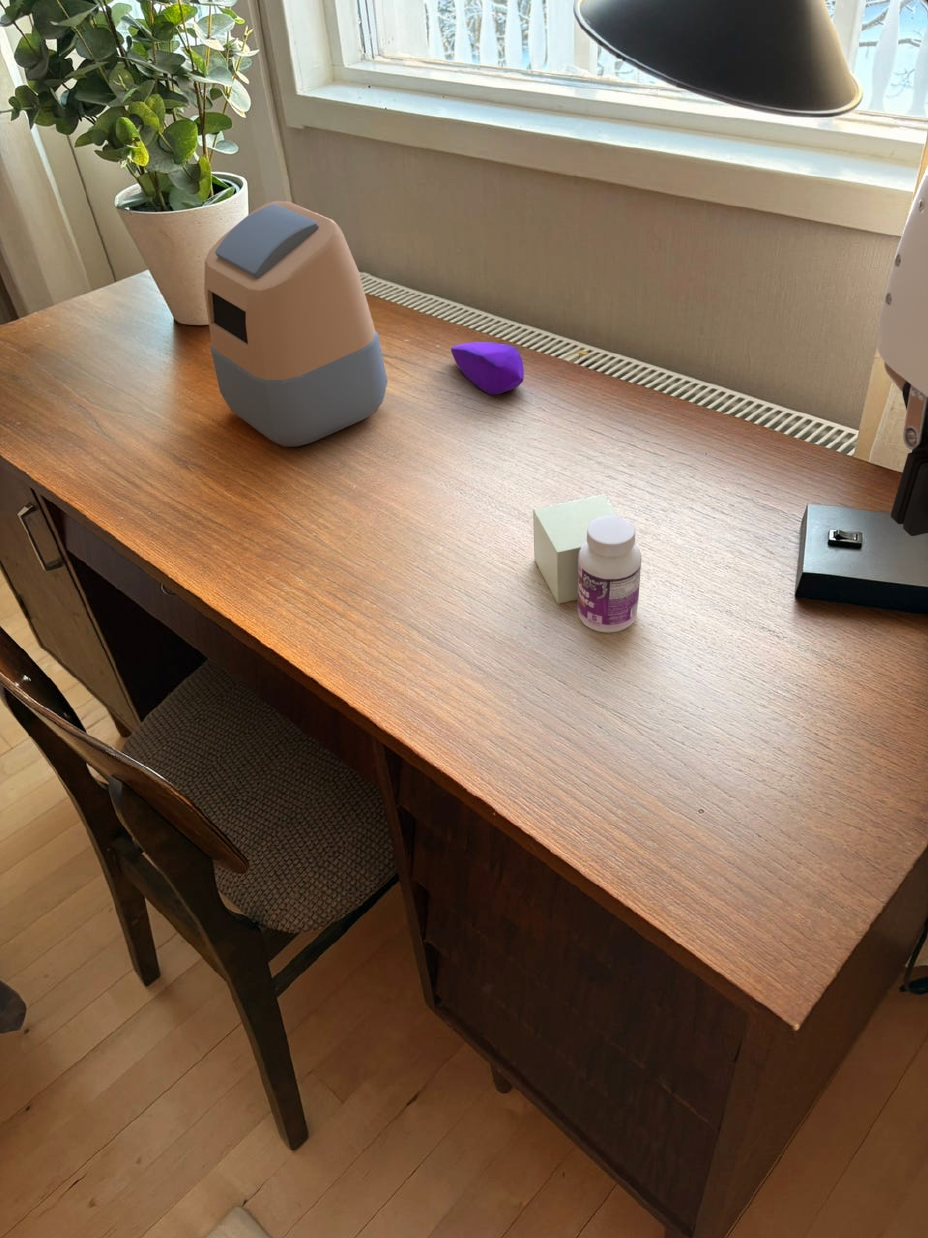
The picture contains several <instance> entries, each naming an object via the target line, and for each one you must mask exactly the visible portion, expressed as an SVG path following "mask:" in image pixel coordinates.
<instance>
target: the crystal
mask: <svg viewBox="0 0 928 1238" xmlns="http://www.w3.org/2000/svg"><path fill="white" fill-rule="evenodd" d="M450 352H451V355H452V357H453V359H454V361H455V363H456V365H457V367H458V368H459V370H460V371H461V372H462V373H463V374H464V376H465V377H466V378H467V379H468V381H470V382H471V383H472V384H473V385H475V386H476V387H477V388H479V389H481V390H482V391H484V392H486V393H488V394H489V395H492V396H493V395H500V394H502V393H505V392H508V391H509V392H510V391H511V390H513V389H515V388H517V387H519V386H520V385H522V383H524V378H525V368H524V361H523V358H522V356H521V354H520V352H519V350H518V348H516V347H514V346H512V345H510V344H505V343H504V344H503V343H497V342H492V341H491V342H490V341H480V342H479V341H478V342H477V341H476V342H466V343H460V344H457V345H454V346H452V347H451V348H450Z"/></svg>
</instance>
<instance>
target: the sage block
mask: <svg viewBox="0 0 928 1238" xmlns="http://www.w3.org/2000/svg"><path fill="white" fill-rule="evenodd" d="M603 516H618V517H620V516H619V514H618V513H617V511H616V510H615V508H614V507H613V506H612V504H611V503H610V500H608V498H607V496H606V495H605V493H601V494H597V495H592V496H587V497H583V498H578V499H573V500H569V501H565V502H560V503H555V504H550V505H546V506H541V507H536V508H533V509H532V519H533V520H532V524H533V525H532V527H533V528H532V529H533V559H534V562H535V564H536V566H537V567H538V569H539V571H540V574H541V576H542V577H543V579H544V581H545V583H546V585H547V587H548V589H549V590H550V592H551V594H552V596H553V598H554V600H555V602H556V604H557V605H560V604H564V603H567V602H573V601H576V600H577V601H578V559H579V552H580V549H581V547H582V545H583V544H584V543H585V542H586V541H587V529H588V526H589V524H590V523H591V522H592V521H593V520H595V519H597V518H599V517H603Z"/></svg>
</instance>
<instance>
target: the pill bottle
mask: <svg viewBox="0 0 928 1238" xmlns="http://www.w3.org/2000/svg"><path fill="white" fill-rule="evenodd" d="M618 516H619V515H618ZM618 516H603V517H599V518H597V519H595V520H593V521H592V522H591V523H590V524H589V526H588V529H587V541H586V542H585V543H584V544H583V545H582V547H581V549H580V552H579V559H578V599H577V614H578V617H579V619H580V621H581V622H582V623H583V625H585V626H586V627H587V628H589V629H591V630H593V631H595V632H599V633H609V634H610V633H617V632H620V631H623V630H625V629H627V628H629V627H630V626H632V624H633V623H634V622H635V621H636V618H637V615H638V605H639V596H640V583H641V573H642V572H641V570H642V552H641V549H640V548H639V546H638V545H637V543H636V528H635V526H634V524H633V523H632V521H630V520H628V519H626V518H624V517H622V516H619V517H618Z"/></svg>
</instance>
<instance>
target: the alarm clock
mask: <svg viewBox="0 0 928 1238" xmlns="http://www.w3.org/2000/svg"><path fill="white" fill-rule="evenodd" d="M203 275H204V285H203V288H204V292H203V294H204V301H205V308H206V314H207V321H208V326H209V333H210V339H211V340H210V341H211V344H210V346H209V347H210V352H211V356H212V360H213V361H212V362H213V364H214V371H215V375H216V380H217V383H218V384H217V385H218V388H219V392H220V395H221V396H222V398H223V400H224V401H225V403H226V404H227V406H228V408H229V409H230V411H231V412H233V413H234V414H235V415H236V416H237V417H239V418H240V419H241V420H243V421H244V422H245V423H247V424H248V425H250V426H251V427H252V428H253V429H255V430H256V431H257V432H259V433H261V434H262V435H263V436H265V438H267V439H269V440H270V441H271V442H273V444H277V445H278V446H279V445H280V446H282V447H302V446H306V445H309V444H312V443H314V442H317V441H318V440H321V439H323V438H325V437H329V436H330V435H332V434H335V433H336V432H339V431H342V430H343V429H346V428H348V427H350V426H352V425H355V424H357V423H359V422H361V421H364V420H366V419H367V418H369V417H370V416H371V415H373V414H374V413H376V411H377V410H378V409H379V408H380V406H381V405H382V404H383V401H384V398H385V395H386V389H387V386H388V378H387V377H388V376H387V372H386V368H385V362H384V356H383V351H382V346H381V341H380V337H379V333H378V332H377V331H376V329H375V325H374V321H373V318H372V314H371V310H370V307H369V303H368V300H367V296H366V292H365V289H364V285H363V282H362V278H361V275H360V272H359V269H358V266H357V264H356V262H355V259H354V257H353V254H352V252H351V249H350V248H349V245H348V242H347V239H346V237H345V235H344V232H343V230H342V229H341V227H340V226H339V225H338V223H336V221H335V220H333V219H331V218H329V217H326V216H324V215H321V214H319V213H317V212H314V211H312V210H310V209H308V208H305V207H302V206H301V205H298V204H295V203H293V202H292V201H287V200H274V201H271V202H267V203H265V204H263V205H261V206H259V207H257V208H256V209H254V210H253V211H251V212H249V214H247V215H246V216H245V217H244V218H243V219H242V220H240V221H239V222H238V223H237V224H236V225H234V226H233V227H232V228H231V229H230V230H228V231H227V232H226V233H225V234H223V235H222V236H221V237H220V238H219V239H218V241H217V242H215V243H214V245H212V247H211V248H210V249H209V250H208V252H207V254H206V256H205V259H204V274H203Z"/></svg>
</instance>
